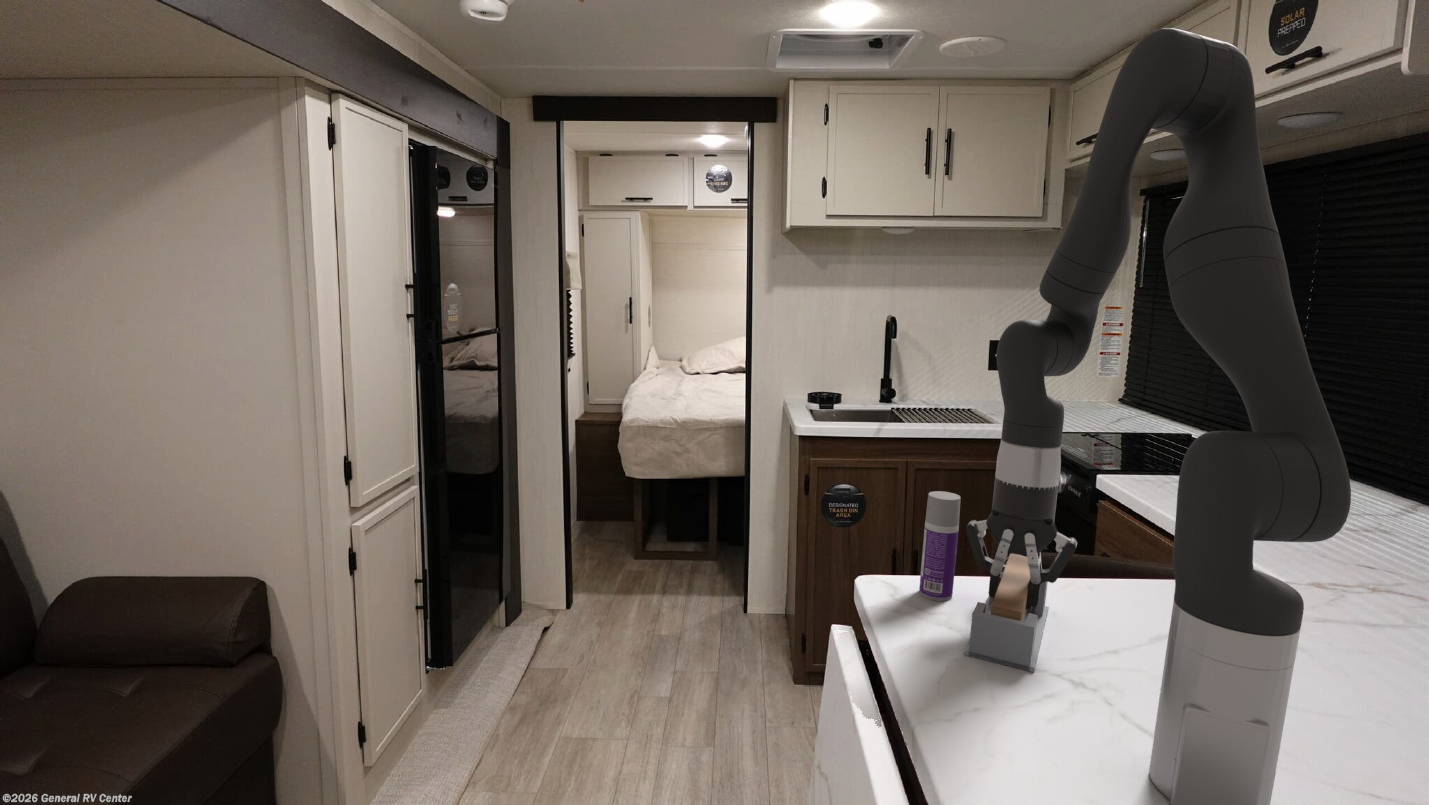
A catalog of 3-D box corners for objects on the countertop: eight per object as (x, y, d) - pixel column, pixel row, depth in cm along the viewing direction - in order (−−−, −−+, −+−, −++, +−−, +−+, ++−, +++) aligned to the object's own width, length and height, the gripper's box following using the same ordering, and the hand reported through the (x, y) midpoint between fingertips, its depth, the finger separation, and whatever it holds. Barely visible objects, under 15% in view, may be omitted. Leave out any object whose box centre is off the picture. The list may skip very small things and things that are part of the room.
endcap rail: (1034, 672, 90) (1039, 628, 89) (964, 655, 93) (968, 612, 93) (1048, 611, 107) (1052, 573, 106) (988, 598, 111) (992, 562, 110)
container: (959, 599, 110) (968, 498, 108) (932, 603, 108) (941, 501, 106) (938, 586, 115) (947, 490, 112) (912, 590, 113) (920, 492, 110)
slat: (1018, 641, 93) (1021, 612, 92) (989, 634, 95) (991, 605, 94) (1033, 584, 107) (1036, 558, 106) (1008, 579, 108) (1010, 553, 107)
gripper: (964, 474, 97) (951, 602, 100) (1086, 493, 91) (1069, 629, 93) (974, 463, 104) (962, 583, 106) (1089, 479, 97) (1073, 606, 100)
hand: (1012, 603), depth 100 cm, fingers closed on slat, 3 cm apart
